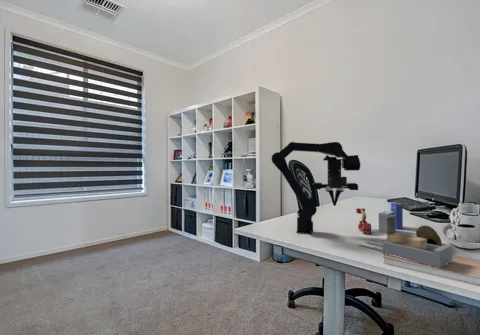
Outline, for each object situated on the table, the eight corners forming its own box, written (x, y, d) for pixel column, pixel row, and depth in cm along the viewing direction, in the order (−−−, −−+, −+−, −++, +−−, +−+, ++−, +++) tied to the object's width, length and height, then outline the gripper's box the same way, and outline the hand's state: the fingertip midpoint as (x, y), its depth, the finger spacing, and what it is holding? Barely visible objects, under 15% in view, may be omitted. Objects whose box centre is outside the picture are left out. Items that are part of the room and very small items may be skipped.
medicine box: (389, 233, 110) (389, 213, 110) (378, 231, 114) (378, 212, 114) (395, 230, 115) (395, 211, 115) (384, 229, 119) (384, 210, 119)
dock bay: (356, 246, 92) (356, 232, 92) (370, 242, 98) (370, 229, 98) (439, 268, 71) (439, 251, 71) (452, 261, 77) (451, 245, 77)
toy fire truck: (364, 234, 109) (363, 212, 109) (356, 227, 122) (355, 207, 122) (372, 235, 108) (372, 212, 108) (363, 227, 122) (363, 207, 122)
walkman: (402, 229, 117) (402, 203, 117) (396, 229, 118) (396, 203, 118) (395, 225, 125) (395, 201, 125) (389, 225, 126) (389, 201, 126)
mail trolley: (386, 251, 85) (385, 217, 85) (394, 248, 89) (394, 215, 89) (420, 260, 77) (419, 222, 77) (428, 256, 80) (427, 220, 80)
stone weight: (412, 240, 101) (412, 223, 101) (434, 242, 98) (434, 224, 98) (420, 251, 87) (420, 231, 87) (446, 254, 84) (445, 234, 84)
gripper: (312, 170, 107) (312, 207, 107) (360, 170, 102) (360, 209, 102) (312, 170, 118) (312, 204, 118) (356, 170, 113) (356, 205, 113)
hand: (334, 205), depth 112 cm, fingers closed
